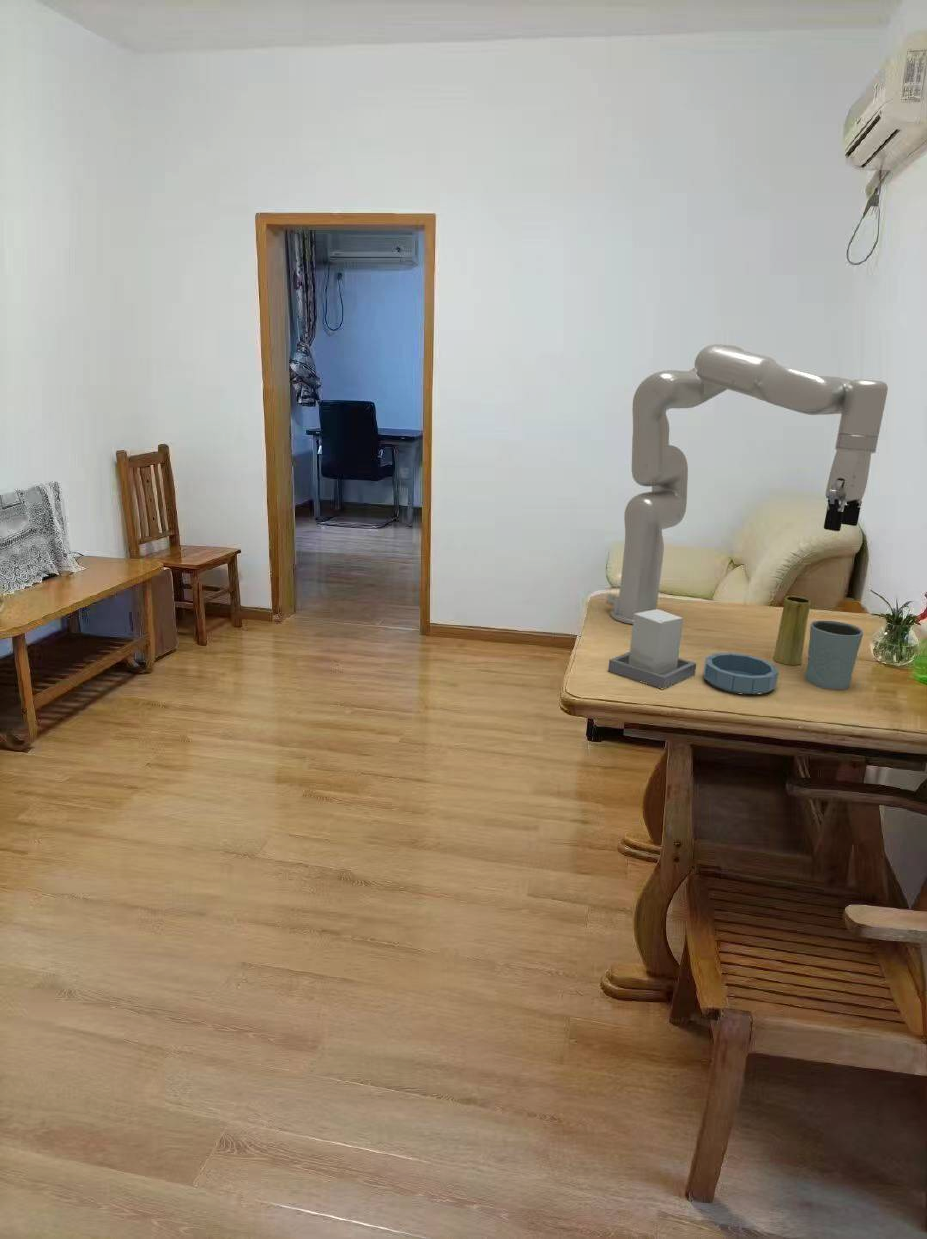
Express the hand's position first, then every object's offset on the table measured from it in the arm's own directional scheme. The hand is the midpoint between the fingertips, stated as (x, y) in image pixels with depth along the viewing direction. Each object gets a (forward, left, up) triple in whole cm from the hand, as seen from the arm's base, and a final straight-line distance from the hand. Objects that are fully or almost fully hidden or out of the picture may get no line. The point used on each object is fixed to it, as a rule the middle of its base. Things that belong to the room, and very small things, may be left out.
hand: (840, 527), depth 177 cm
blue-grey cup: (+5, -6, -32) cm, 32 cm away
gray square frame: (-22, -31, -31) cm, 49 cm away
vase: (-6, 0, -31) cm, 32 cm away
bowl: (-7, -22, -31) cm, 39 cm away
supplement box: (-22, -31, -32) cm, 49 cm away
